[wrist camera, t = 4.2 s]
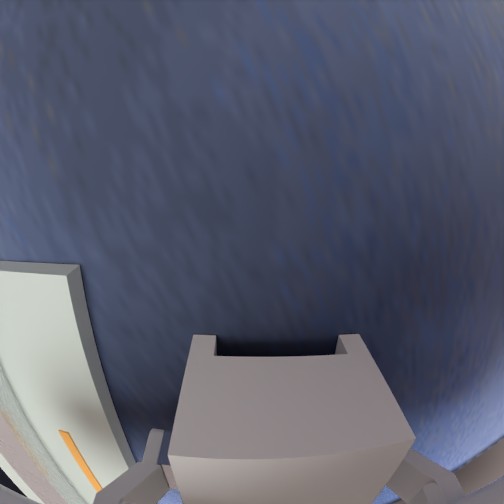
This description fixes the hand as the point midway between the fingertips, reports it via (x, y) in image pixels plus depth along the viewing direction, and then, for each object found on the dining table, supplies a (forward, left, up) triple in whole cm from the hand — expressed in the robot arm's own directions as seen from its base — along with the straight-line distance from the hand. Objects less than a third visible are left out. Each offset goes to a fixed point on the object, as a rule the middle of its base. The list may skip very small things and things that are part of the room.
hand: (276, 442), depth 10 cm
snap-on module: (0, 0, -2) cm, 2 cm away
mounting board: (+14, +6, -2) cm, 15 cm away
